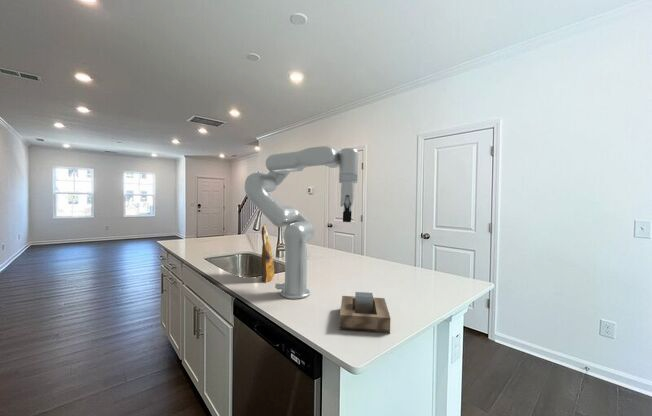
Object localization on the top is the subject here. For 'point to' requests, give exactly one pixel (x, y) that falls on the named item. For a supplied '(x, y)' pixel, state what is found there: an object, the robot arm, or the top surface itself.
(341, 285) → the top surface
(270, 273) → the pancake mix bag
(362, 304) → the tall blue-grey block
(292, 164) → the robot arm
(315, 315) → the top surface
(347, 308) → the walnut well
